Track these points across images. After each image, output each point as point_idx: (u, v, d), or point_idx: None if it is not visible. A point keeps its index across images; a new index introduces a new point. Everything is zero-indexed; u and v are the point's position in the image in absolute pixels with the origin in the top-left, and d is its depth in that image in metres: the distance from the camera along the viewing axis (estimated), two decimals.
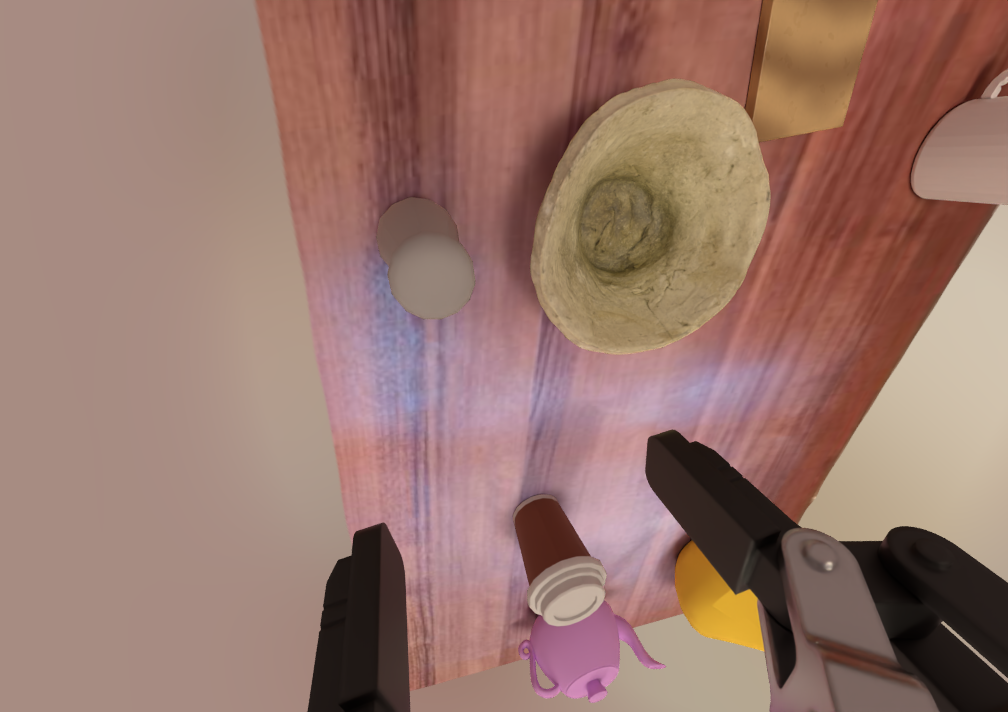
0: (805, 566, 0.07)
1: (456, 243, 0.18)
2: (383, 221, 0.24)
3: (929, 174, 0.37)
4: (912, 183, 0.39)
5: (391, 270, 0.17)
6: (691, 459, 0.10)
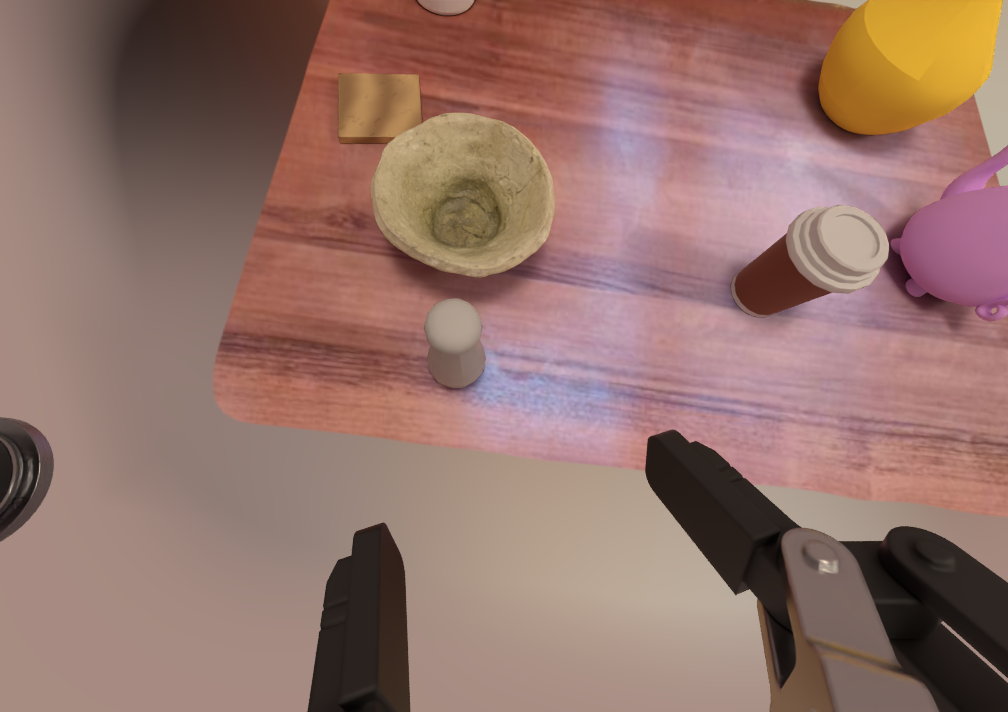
0: (805, 566, 0.07)
1: None
2: (438, 377, 0.35)
3: (456, 1, 0.51)
4: (463, 10, 0.52)
5: (442, 348, 0.26)
6: (691, 459, 0.10)
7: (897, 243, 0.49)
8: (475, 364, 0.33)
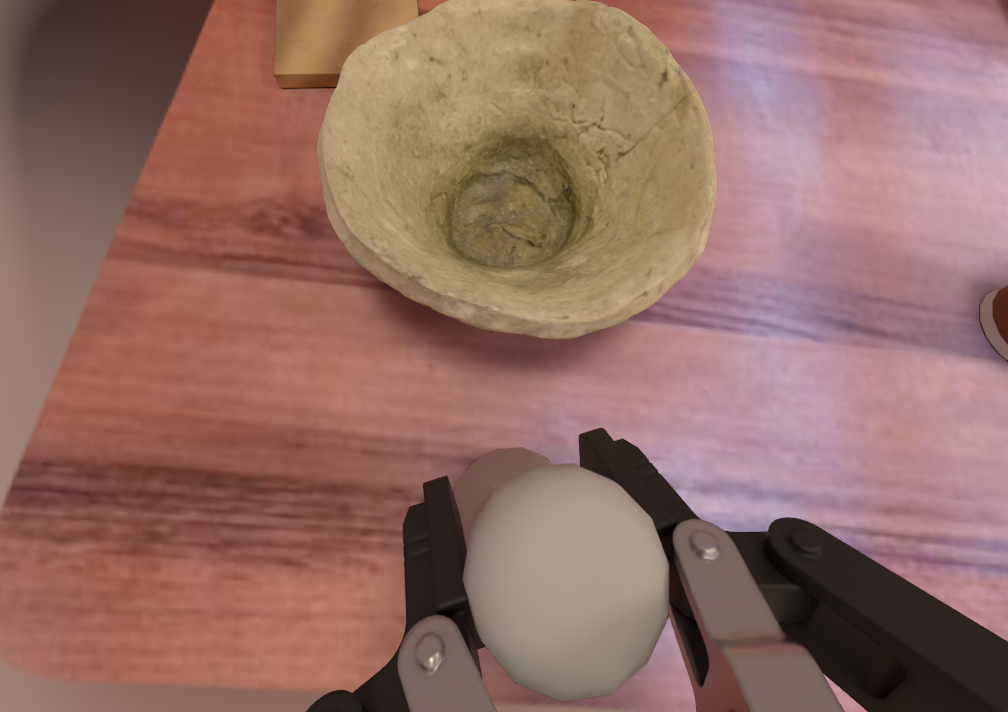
0: (689, 554, 0.07)
1: (489, 506, 0.08)
2: None
3: None
4: None
5: (541, 691, 0.07)
6: (611, 455, 0.10)
7: None
8: None
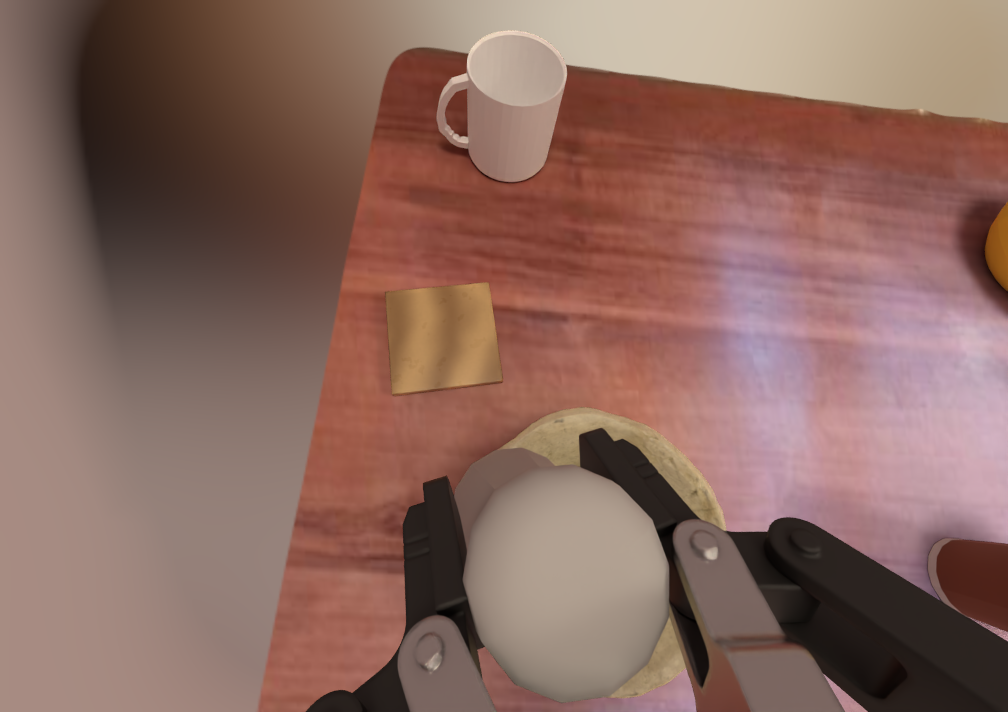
0: (689, 554, 0.07)
1: (489, 507, 0.08)
2: None
3: (528, 169, 0.39)
4: (534, 174, 0.41)
5: (541, 692, 0.07)
6: (611, 455, 0.10)
7: None
8: None
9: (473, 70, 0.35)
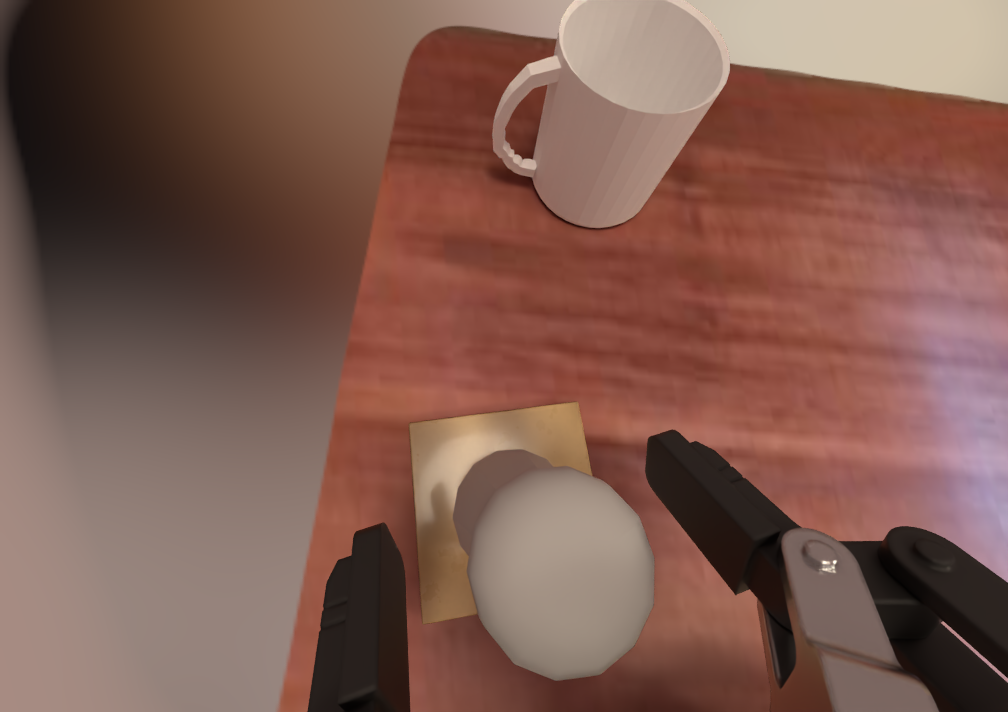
0: (805, 566, 0.07)
1: (491, 505, 0.09)
2: None
3: (629, 211, 0.25)
4: (632, 216, 0.27)
5: (538, 672, 0.08)
6: (691, 459, 0.10)
7: None
8: None
9: None
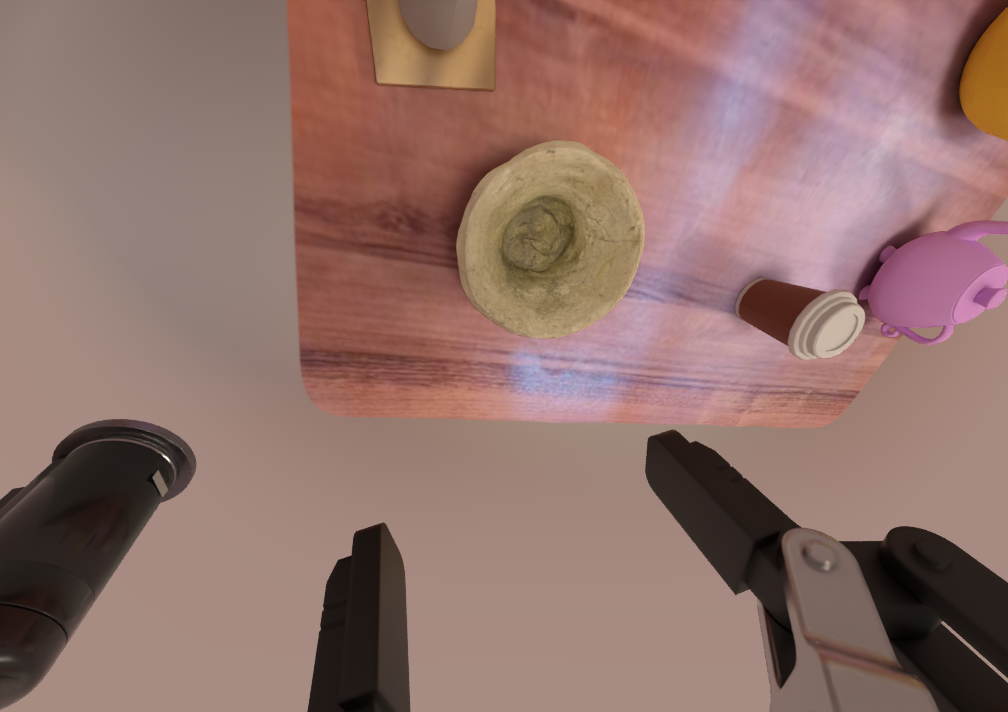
0: (805, 566, 0.07)
1: None
2: (415, 26, 0.26)
3: None
4: None
5: None
6: (691, 459, 0.10)
7: (887, 253, 0.55)
8: (469, 13, 0.25)
9: None
